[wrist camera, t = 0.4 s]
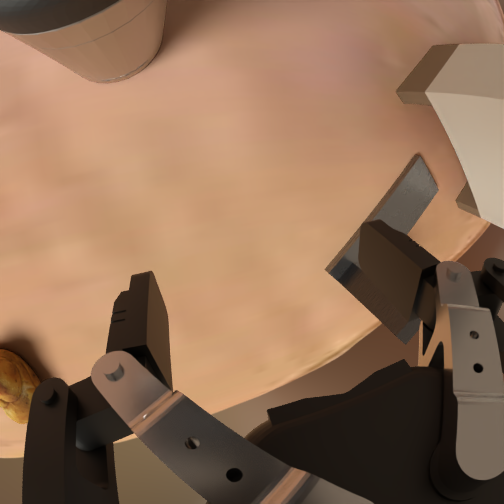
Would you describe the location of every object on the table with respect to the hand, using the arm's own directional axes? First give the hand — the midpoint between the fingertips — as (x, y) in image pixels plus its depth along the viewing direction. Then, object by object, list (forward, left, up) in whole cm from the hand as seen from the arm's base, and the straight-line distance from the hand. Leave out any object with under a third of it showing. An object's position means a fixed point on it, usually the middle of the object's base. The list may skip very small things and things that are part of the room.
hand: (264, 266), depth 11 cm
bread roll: (+13, -35, -20) cm, 42 cm away
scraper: (+15, +21, -20) cm, 32 cm away
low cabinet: (+5, +37, -20) cm, 43 cm away
